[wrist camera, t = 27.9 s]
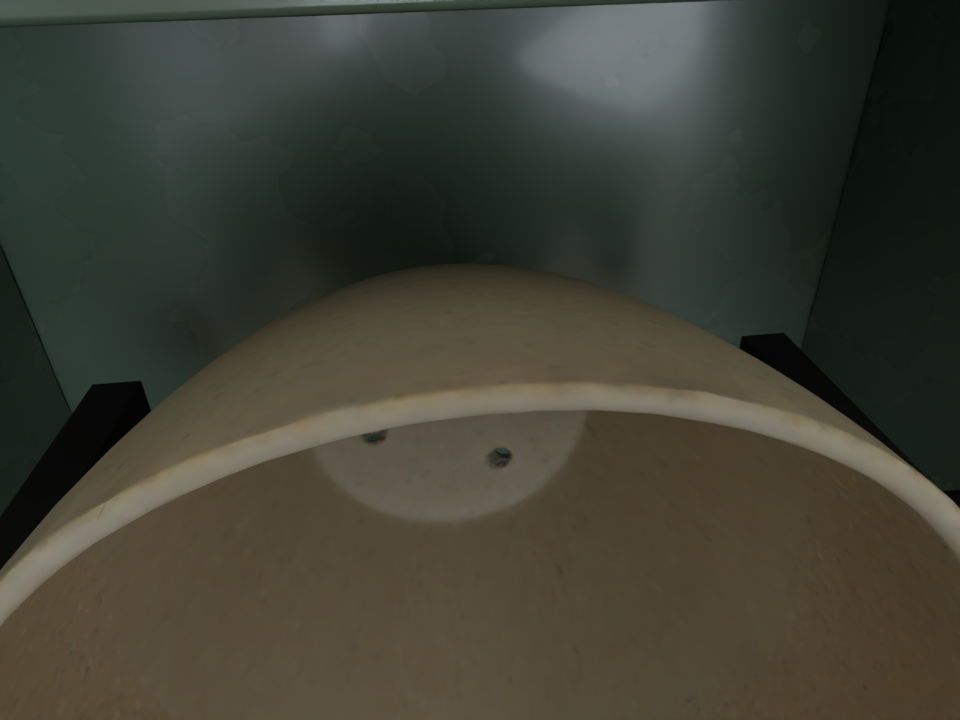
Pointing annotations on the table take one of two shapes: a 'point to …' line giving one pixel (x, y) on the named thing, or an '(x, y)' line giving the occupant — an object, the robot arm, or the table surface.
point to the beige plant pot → (488, 530)
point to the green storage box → (478, 179)
